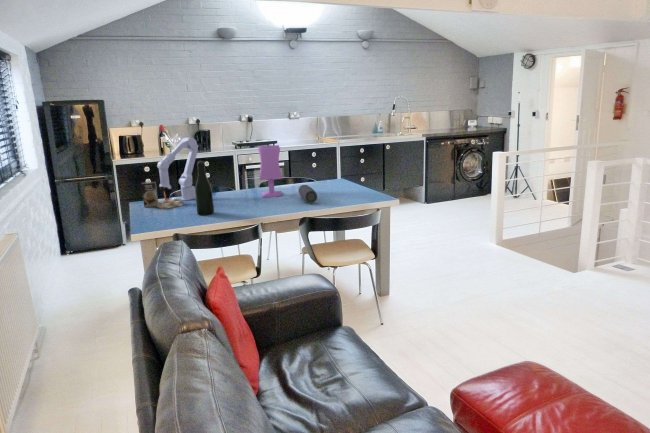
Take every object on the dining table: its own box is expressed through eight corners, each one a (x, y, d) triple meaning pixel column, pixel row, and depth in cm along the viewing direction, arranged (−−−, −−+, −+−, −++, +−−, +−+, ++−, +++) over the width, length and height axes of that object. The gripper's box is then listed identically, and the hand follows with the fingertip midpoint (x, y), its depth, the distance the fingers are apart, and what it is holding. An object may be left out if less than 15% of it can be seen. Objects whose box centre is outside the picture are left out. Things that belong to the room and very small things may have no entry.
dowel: (168, 201, 330) (166, 187, 327) (170, 201, 328) (168, 187, 325) (164, 202, 328) (162, 188, 325) (166, 202, 326) (164, 188, 323)
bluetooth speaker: (297, 198, 328) (297, 184, 325) (310, 197, 330) (310, 183, 327) (304, 205, 306) (303, 190, 304) (318, 204, 308) (317, 189, 306)
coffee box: (144, 207, 317) (140, 183, 312) (144, 205, 323) (141, 182, 318) (158, 206, 319) (155, 182, 315) (158, 204, 325) (155, 181, 321)
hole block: (176, 203, 326) (176, 198, 325) (183, 205, 319) (182, 200, 318) (157, 206, 317) (156, 202, 317) (163, 209, 310) (162, 204, 309)
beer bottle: (197, 216, 288) (191, 162, 279) (197, 212, 297) (191, 160, 289) (214, 214, 290) (209, 161, 282) (214, 211, 300) (209, 159, 291)
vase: (283, 196, 335) (280, 147, 326) (261, 198, 333) (257, 148, 324) (281, 192, 350) (279, 145, 341) (260, 193, 348) (257, 146, 339)
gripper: (154, 178, 326) (157, 197, 330) (163, 180, 316) (165, 200, 319) (164, 176, 331) (166, 195, 334) (173, 179, 320) (175, 198, 324)
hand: (166, 197), depth 327 cm, fingers closed on dowel, 3 cm apart
